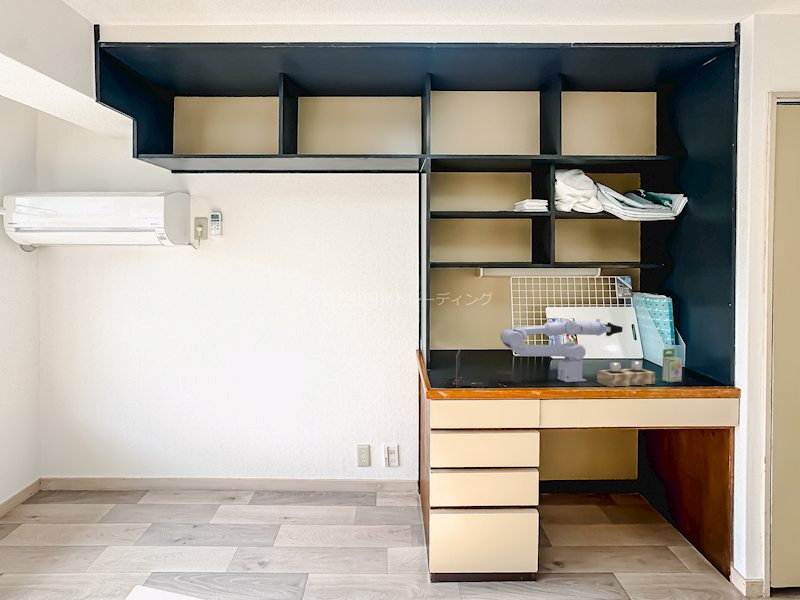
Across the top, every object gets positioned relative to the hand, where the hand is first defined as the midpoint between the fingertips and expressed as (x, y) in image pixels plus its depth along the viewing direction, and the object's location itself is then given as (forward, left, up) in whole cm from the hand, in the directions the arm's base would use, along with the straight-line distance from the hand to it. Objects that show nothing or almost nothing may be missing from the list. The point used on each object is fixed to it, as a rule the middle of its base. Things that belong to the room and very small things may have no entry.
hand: (617, 328), depth 263 cm
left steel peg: (-8, -11, -18) cm, 22 cm away
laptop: (-63, +6, -22) cm, 67 cm away
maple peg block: (-3, -11, -21) cm, 24 cm away
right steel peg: (+2, -11, -18) cm, 21 cm away
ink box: (+18, -12, -21) cm, 31 cm away
